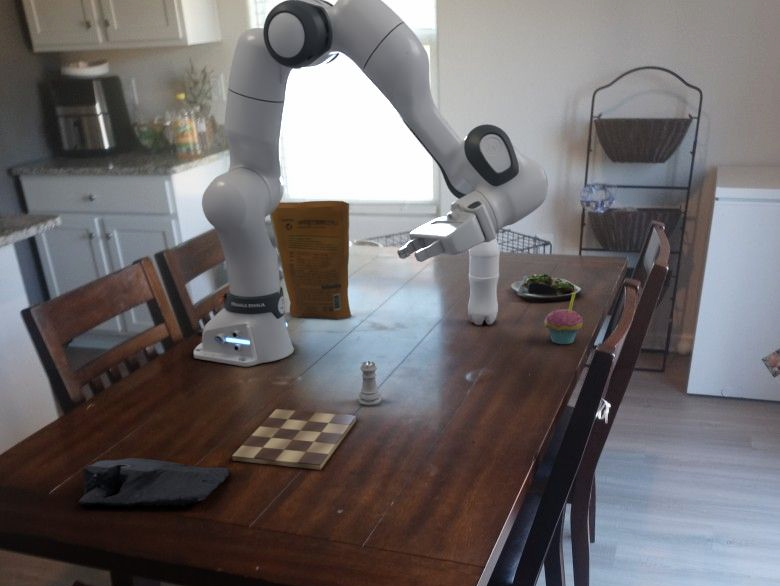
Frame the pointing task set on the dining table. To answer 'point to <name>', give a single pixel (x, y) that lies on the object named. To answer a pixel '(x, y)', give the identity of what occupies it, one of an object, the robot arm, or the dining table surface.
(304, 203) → the pancake mix bag
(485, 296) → the water bottle
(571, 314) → the cupcake
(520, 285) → the salad plate
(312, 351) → the dining table surface
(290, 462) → the chessboard
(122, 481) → the dark slate chunk
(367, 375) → the rook chess piece
